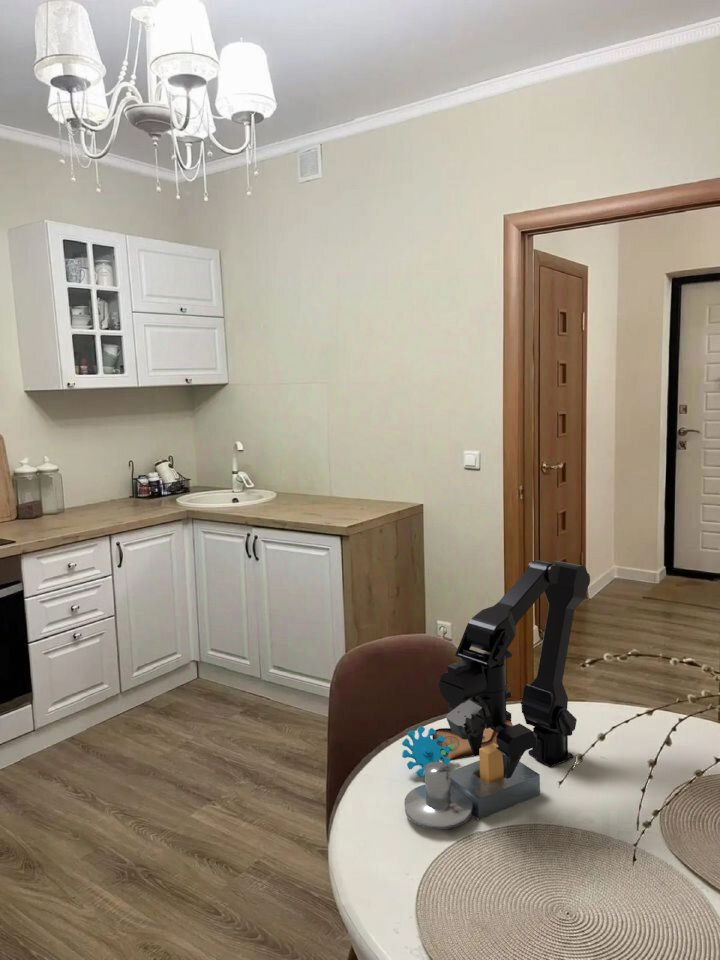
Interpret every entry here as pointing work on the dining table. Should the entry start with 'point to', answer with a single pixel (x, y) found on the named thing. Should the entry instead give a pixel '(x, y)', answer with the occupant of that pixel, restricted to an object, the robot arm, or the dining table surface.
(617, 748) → the dining table surface
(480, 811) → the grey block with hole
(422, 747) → the gear
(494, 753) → the tan wooden beam
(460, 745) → the sunglasses case
